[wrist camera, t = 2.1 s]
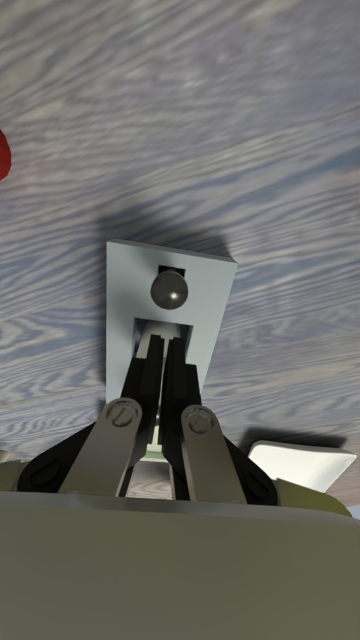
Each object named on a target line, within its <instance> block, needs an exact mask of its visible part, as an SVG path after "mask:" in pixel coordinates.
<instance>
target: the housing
mask: <svg viewBox="0 0 360 640" xmlns="http://www.w3.org/2000/svg"><path fill="white" fill-rule="evenodd" d="M160 265H163V266H170V267H176V268H182V269H184V271H183V278H184V279H185V280H186V282H187V286H188V297H187V300H186V302H185V303H184V304H183V305H182V306H181V307H179V308H177V309H174V310H166V309H162V308H160V307H159V306H157V305H156V304H155V303H154V301H153V300H152V298H151V293H150V290H151V286H152V283H153V280H154V279H155V277H156V276H158V275H159V266H160ZM237 266H238V263H237V262H236V261H235V260H234V259H233V258H230V257H224V256H218V255H212V254H206V253H200V252H194V251H188V250H182V249H176V248H171V247H165V246H159V245H153V244H147V243H141V242H135V241H129V240H123V239H117V238H113V239H111V240H109V241H107V312H106V404H108V403H109V402H111V401H112V400H115V399H117V398H120V396H121V392H122V389H123V385H124V382H125V379H126V375H127V372H128V368H129V365H130V362H131V358H132V357H136V356H137V352H134V351H135V339H136V326H137V318H142V319H150V320H157V321H164V322H172V323H179V324H186V325H190V327H189V332H188V337H187V341H186V346H185V362H186V363H187V364H195V365H196V366H197V373H198V381H199V388H200V394H201V391H202V387H203V384H204V381H205V377H206V374H207V370H208V367H209V363H210V360H211V356H212V353H213V349H214V346H215V342H216V339H217V335H218V332H219V329H220V325H221V322H222V318H223V315H224V311H225V308H226V304H227V301H228V297H229V294H230V290H231V287H232V283H233V280H234V277H235V273H236V270H237Z"/></svg>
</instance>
